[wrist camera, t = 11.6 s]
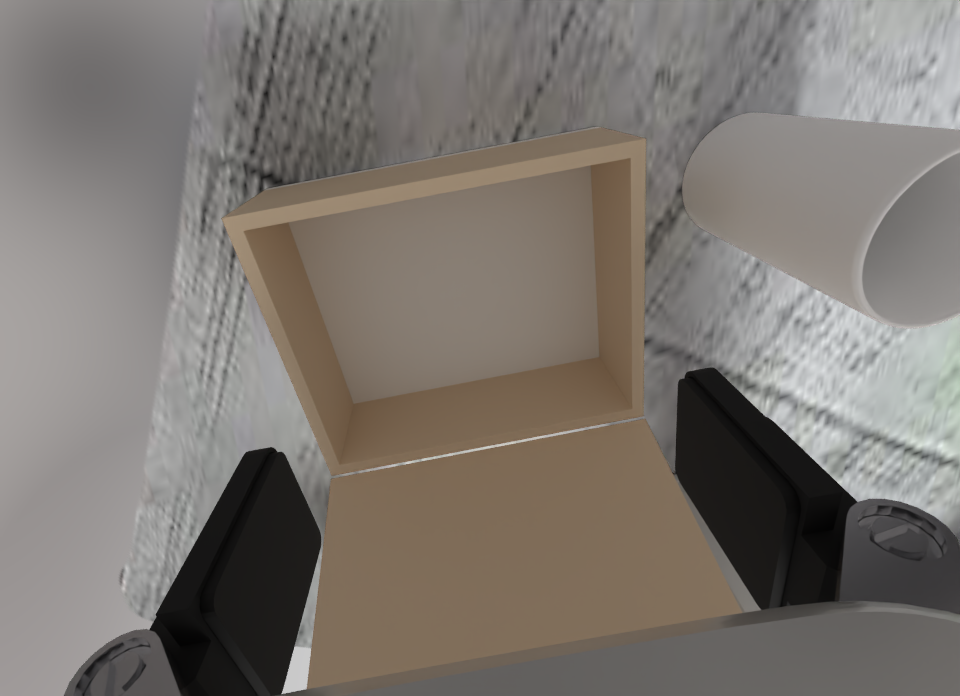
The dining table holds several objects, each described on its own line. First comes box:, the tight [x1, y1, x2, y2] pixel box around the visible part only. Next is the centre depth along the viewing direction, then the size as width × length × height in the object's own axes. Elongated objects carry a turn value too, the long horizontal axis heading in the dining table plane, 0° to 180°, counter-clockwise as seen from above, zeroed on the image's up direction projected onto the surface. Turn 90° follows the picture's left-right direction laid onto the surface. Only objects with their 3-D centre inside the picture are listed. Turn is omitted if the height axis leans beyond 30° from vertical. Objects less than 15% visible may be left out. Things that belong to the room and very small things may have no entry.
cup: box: [682, 112, 960, 328], centre depth 27 cm, size 8×8×16 cm
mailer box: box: [221, 126, 646, 476], centre depth 32 cm, size 22×18×8 cm
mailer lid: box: [307, 419, 742, 689], centre depth 26 cm, size 22×19×1 cm
